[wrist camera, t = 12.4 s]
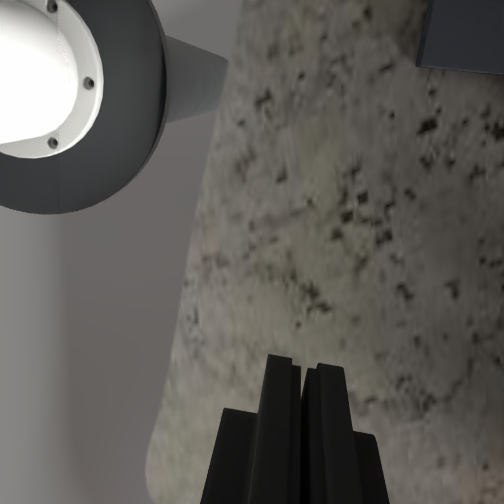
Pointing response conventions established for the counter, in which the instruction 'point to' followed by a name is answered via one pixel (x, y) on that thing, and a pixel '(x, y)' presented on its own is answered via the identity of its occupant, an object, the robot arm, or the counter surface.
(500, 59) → the charcoal pad
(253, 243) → the counter surface
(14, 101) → the robot arm
